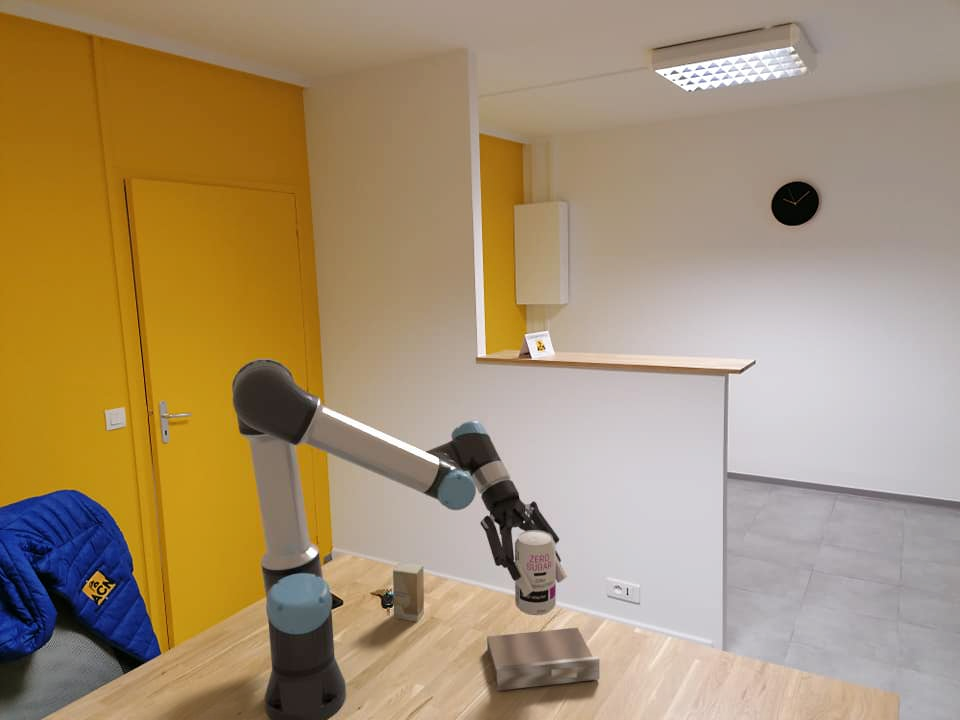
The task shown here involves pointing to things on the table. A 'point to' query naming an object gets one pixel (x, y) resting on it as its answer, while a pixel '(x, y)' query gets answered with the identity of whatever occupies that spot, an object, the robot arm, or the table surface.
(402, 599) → the skincare box
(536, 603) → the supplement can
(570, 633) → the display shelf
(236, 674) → the table surface
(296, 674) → the robot arm
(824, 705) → the table surface
